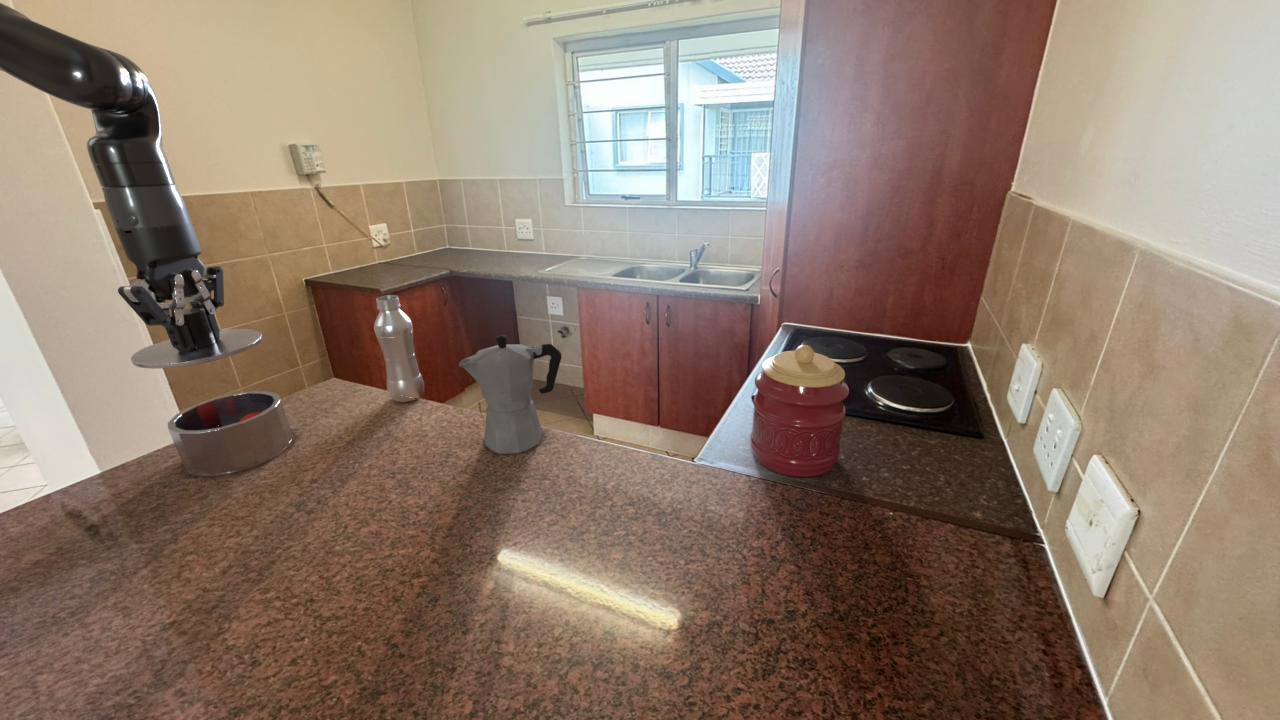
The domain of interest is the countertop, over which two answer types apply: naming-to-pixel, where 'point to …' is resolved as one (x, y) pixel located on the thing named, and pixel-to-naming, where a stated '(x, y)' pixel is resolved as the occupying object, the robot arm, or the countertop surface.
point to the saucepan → (230, 433)
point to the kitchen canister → (798, 413)
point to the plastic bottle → (398, 350)
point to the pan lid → (197, 344)
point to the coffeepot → (511, 392)
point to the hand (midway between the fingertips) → (199, 344)
